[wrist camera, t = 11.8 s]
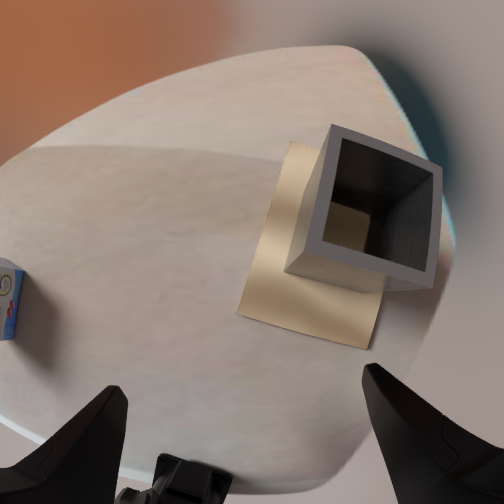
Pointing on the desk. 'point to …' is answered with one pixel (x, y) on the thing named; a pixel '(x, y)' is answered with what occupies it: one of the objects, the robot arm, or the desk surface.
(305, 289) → the board
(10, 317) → the medicine box
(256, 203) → the desk surface
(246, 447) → the desk surface
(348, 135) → the grey square storage bin
